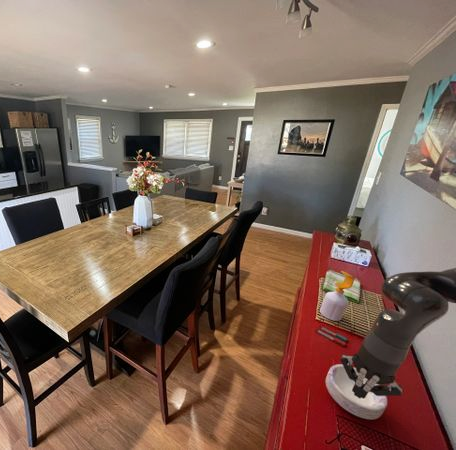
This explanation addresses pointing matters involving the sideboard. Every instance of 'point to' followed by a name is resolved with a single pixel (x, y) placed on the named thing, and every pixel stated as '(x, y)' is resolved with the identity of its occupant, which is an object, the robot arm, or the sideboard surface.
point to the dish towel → (336, 277)
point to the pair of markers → (332, 338)
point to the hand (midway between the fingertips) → (357, 394)
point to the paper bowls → (345, 397)
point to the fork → (335, 334)
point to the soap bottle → (336, 300)
